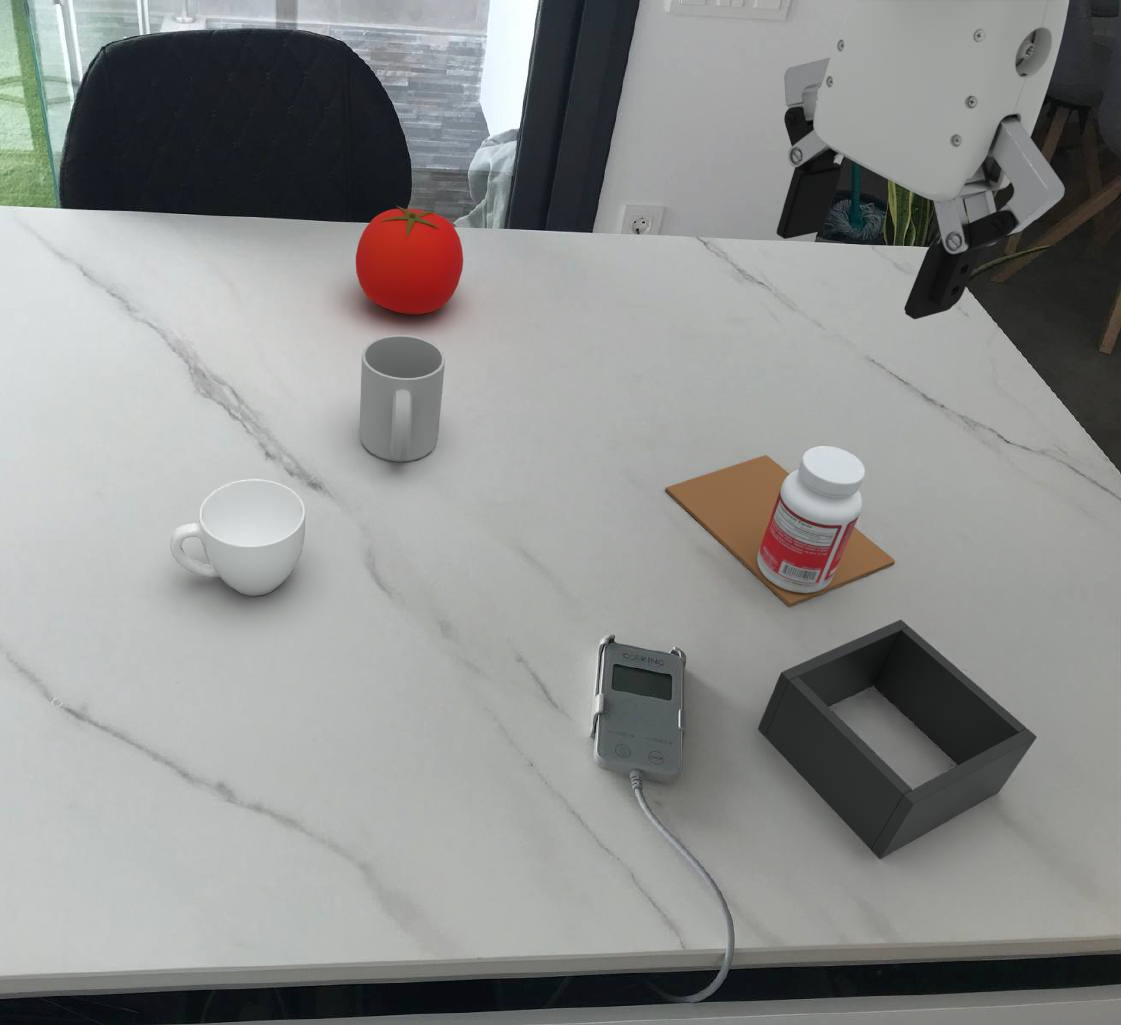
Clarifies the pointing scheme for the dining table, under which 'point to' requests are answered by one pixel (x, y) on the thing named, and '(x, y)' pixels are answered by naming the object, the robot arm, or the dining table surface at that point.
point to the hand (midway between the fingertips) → (859, 270)
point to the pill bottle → (812, 520)
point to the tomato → (409, 260)
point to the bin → (927, 700)
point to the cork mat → (762, 520)
